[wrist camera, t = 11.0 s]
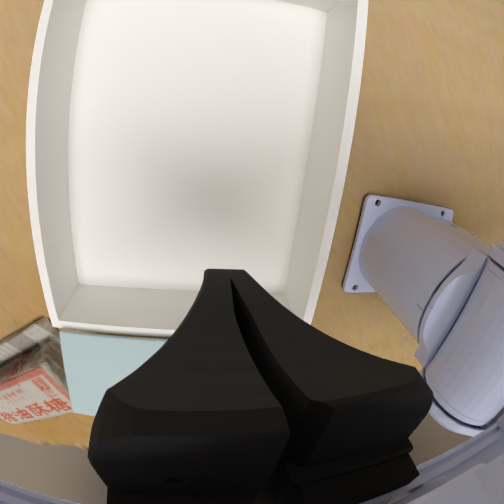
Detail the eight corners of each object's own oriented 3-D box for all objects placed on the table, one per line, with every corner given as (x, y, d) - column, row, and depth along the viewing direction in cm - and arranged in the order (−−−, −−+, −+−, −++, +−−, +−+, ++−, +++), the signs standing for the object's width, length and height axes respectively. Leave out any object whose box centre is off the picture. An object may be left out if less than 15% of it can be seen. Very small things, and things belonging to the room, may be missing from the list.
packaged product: (26, 346, 17) (108, 422, 22) (47, 309, 22) (115, 383, 26) (-48, 385, 18) (12, 439, 23) (-32, 358, 22) (22, 411, 27)
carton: (333, 10, 15) (368, -13, 10) (288, 295, 24) (307, 337, 19) (83, -7, 12) (54, -33, 7) (75, 286, 21) (52, 327, 16)
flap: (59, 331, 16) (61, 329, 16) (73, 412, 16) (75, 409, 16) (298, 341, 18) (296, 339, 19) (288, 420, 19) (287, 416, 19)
